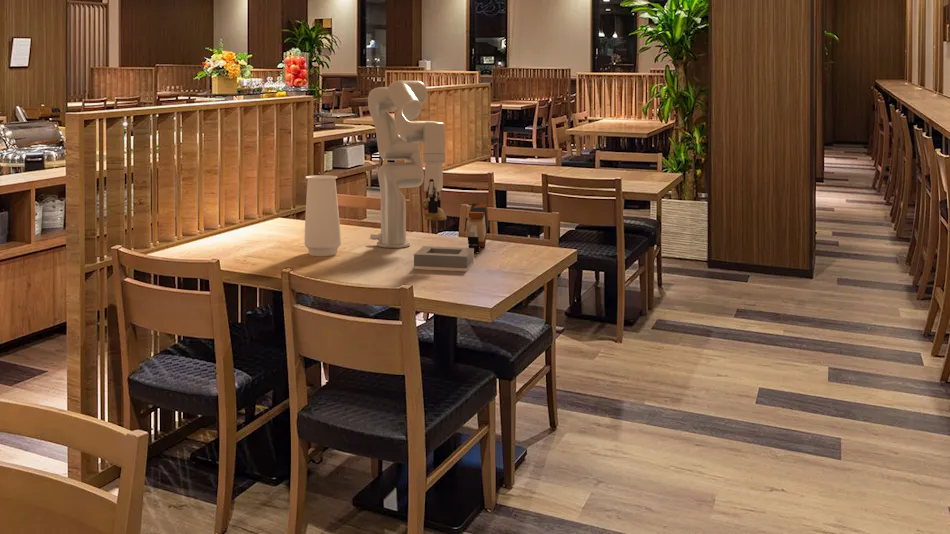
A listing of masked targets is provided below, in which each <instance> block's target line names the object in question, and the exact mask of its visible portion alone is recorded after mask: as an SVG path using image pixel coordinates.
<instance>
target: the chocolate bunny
mask: <svg viewBox="0 0 950 534" xmlns="http://www.w3.org/2000/svg"><path fill="white" fill-rule="evenodd" d="M434 195H435V194H434ZM428 198H429V196H428V197H427V198H425V199H424V200H423V201H422V203H421V207H422V208H423V209H424V213H423V214H424V220H426V221H447V216H446V214H445V212H444V210H443V209H442V207H441V208H439V207H438V213H429V212H428ZM438 199H439V195H438V194H437V201H438Z"/></svg>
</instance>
